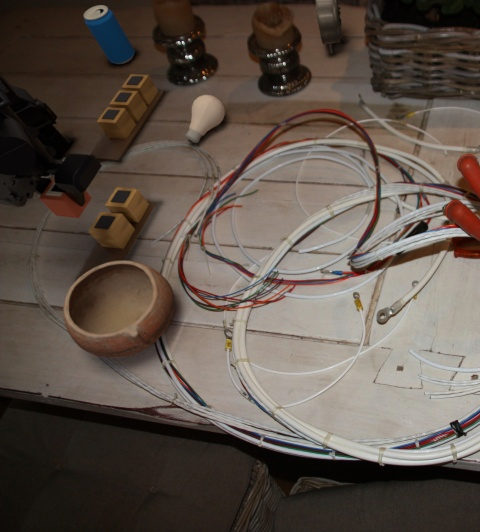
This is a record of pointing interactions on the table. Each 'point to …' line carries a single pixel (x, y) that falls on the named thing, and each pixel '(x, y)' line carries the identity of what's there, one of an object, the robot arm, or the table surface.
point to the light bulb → (204, 116)
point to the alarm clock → (329, 21)
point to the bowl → (118, 308)
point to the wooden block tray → (118, 226)
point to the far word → (126, 116)
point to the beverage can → (109, 34)
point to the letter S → (62, 202)
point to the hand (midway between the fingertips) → (71, 203)
